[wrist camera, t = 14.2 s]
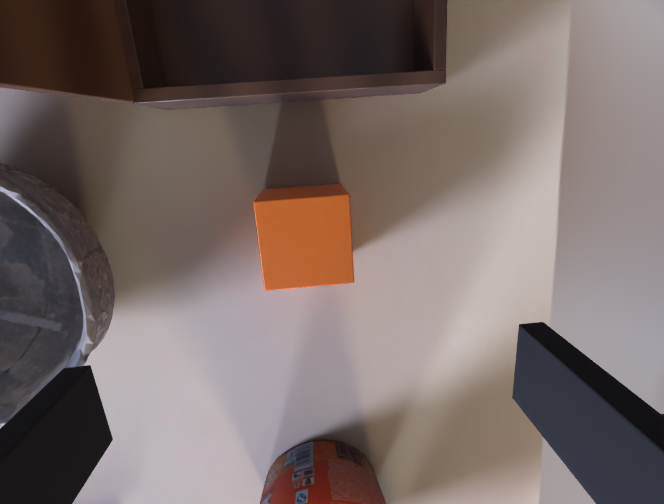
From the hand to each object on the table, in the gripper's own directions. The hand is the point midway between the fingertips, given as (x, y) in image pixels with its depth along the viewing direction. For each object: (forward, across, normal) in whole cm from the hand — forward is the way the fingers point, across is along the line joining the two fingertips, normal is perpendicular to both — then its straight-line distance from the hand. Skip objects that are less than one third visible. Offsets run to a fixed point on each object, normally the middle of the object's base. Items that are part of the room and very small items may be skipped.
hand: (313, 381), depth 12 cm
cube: (+24, 0, 0) cm, 24 cm away
